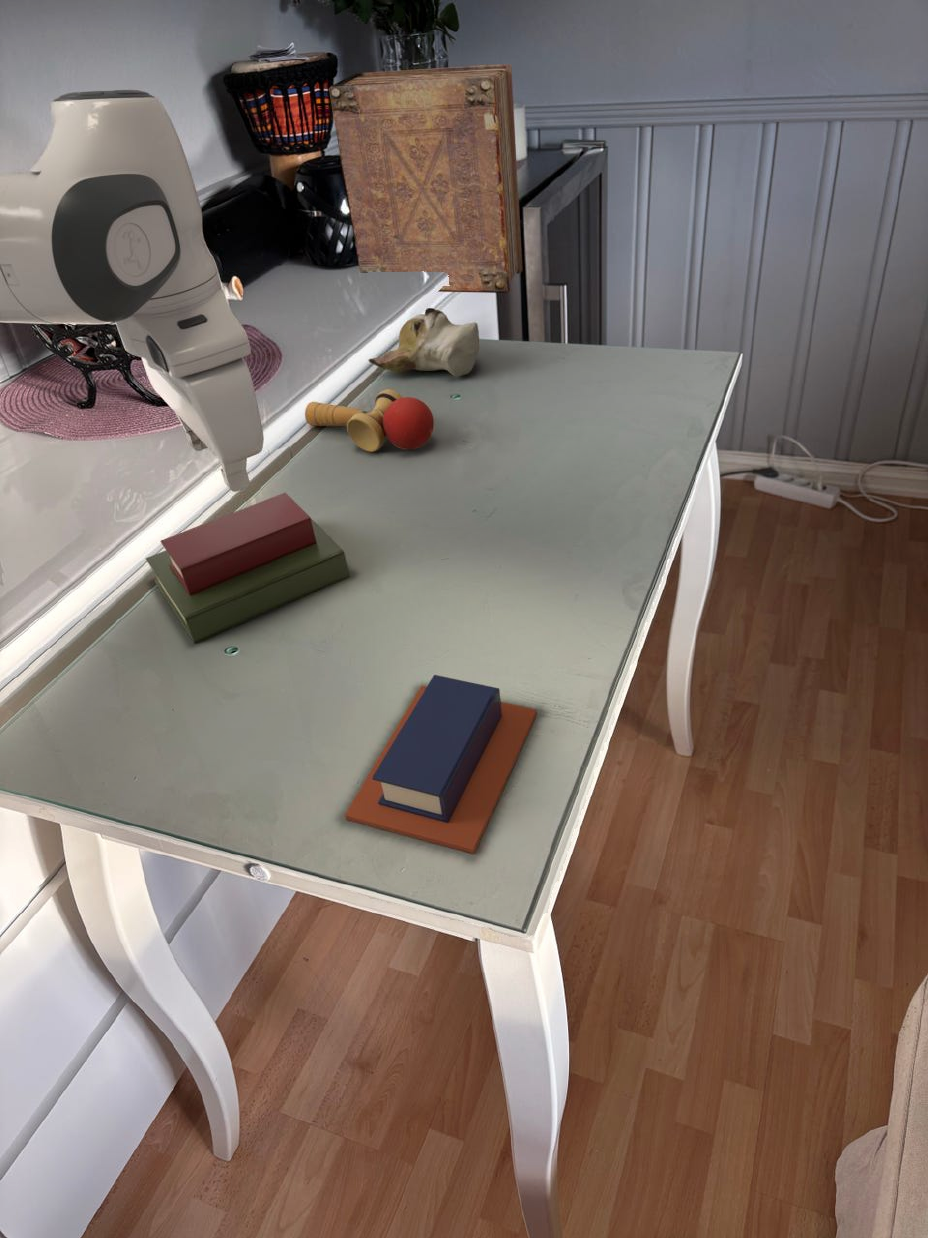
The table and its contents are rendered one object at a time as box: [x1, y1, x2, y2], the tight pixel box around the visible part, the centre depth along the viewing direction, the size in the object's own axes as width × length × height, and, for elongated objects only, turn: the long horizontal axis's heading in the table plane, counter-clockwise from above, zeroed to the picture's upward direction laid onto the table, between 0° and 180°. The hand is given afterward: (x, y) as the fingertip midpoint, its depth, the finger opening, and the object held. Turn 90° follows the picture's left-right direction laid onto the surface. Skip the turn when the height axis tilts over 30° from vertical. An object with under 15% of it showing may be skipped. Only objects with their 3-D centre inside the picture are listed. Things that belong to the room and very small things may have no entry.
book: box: [328, 63, 523, 294], centre depth 141 cm, size 25×9×30 cm, turn 73°
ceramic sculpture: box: [368, 307, 480, 378], centre depth 122 cm, size 11×9×15 cm
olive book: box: [145, 518, 351, 644], centre depth 89 cm, size 16×12×3 cm
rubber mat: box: [344, 685, 538, 854], centre depth 69 cm, size 14×10×1 cm
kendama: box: [304, 388, 435, 453], centre depth 109 cm, size 8×6×18 cm
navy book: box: [372, 674, 502, 823], centre depth 68 cm, size 11×6×3 cm, turn 158°
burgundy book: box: [160, 492, 317, 596], centre depth 87 cm, size 13×6×3 cm, turn 123°
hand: (219, 465), depth 82 cm, fingers open, 8 cm apart
